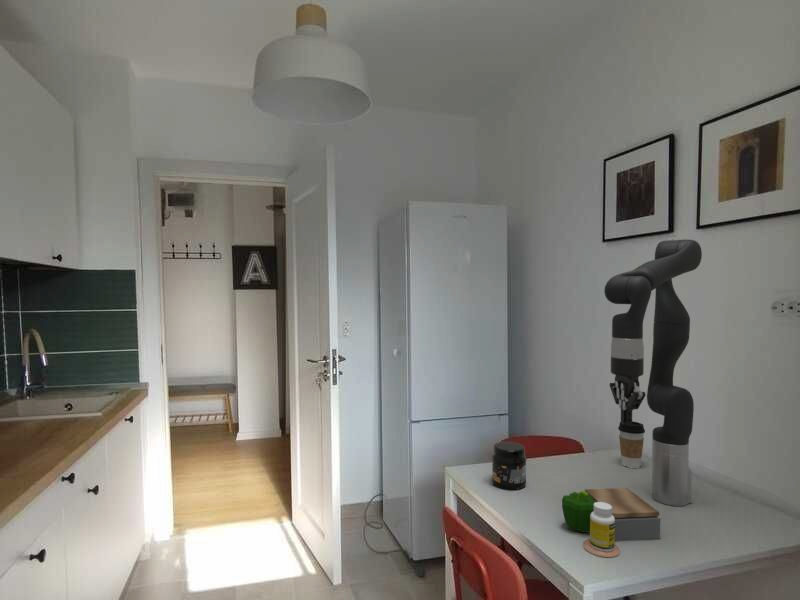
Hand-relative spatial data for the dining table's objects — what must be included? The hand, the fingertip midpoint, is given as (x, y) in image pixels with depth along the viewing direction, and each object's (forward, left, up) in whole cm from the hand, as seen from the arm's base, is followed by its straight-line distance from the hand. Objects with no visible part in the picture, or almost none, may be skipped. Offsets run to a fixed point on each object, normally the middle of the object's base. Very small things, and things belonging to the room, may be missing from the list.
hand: (626, 424), depth 122 cm
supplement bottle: (+10, +8, -27) cm, 30 cm away
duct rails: (0, -3, -27) cm, 27 cm away
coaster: (+10, +8, -27) cm, 30 cm away
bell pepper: (+11, -2, -27) cm, 29 cm away
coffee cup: (-26, -43, -27) cm, 57 cm away
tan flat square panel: (0, -3, -22) cm, 22 cm away
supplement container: (+20, -31, -27) cm, 46 cm away
